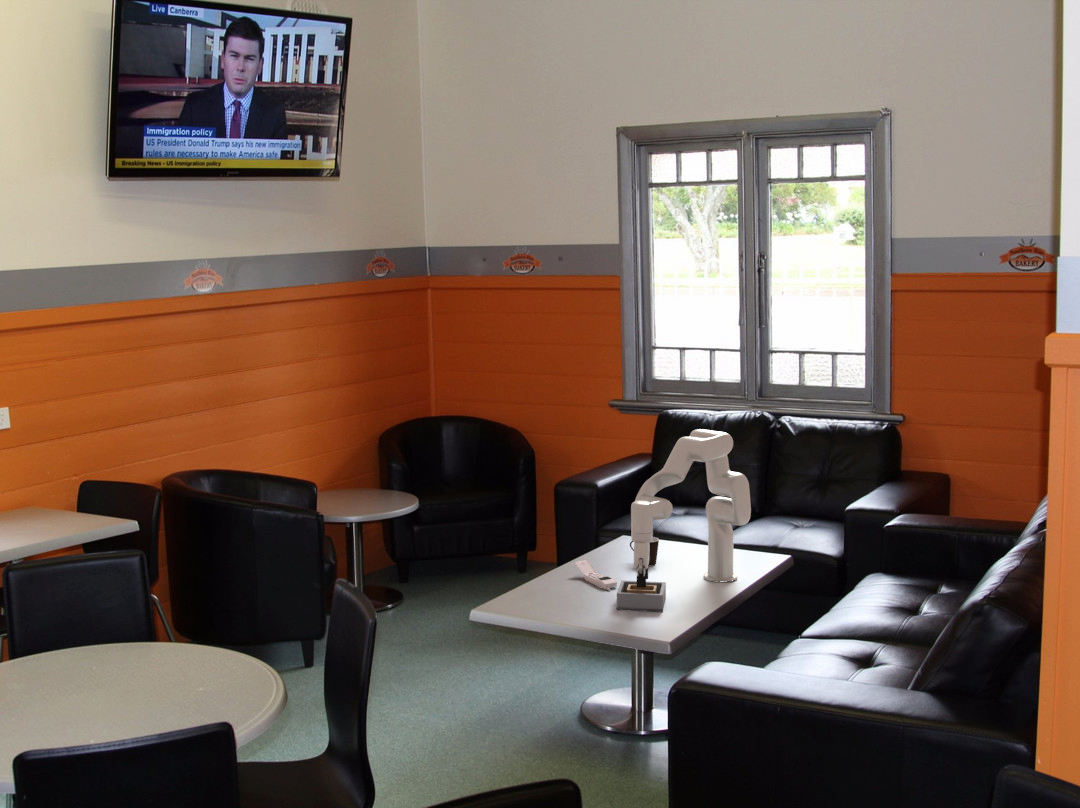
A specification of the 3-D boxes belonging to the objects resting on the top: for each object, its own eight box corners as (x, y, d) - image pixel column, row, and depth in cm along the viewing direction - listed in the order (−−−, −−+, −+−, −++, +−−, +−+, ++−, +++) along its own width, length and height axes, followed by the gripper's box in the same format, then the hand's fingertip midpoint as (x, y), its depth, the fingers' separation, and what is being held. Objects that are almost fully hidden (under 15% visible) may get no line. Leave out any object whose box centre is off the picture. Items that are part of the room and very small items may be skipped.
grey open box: (621, 596, 415) (621, 580, 415) (665, 598, 413) (665, 582, 412) (616, 609, 400) (616, 593, 399) (662, 612, 397) (662, 595, 396)
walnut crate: (628, 597, 410) (628, 584, 410) (656, 599, 409) (656, 585, 408) (626, 603, 404) (626, 589, 403) (655, 604, 402) (655, 591, 401)
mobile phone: (586, 559, 446) (621, 574, 424) (587, 574, 446) (621, 589, 424) (573, 561, 443) (607, 576, 421) (573, 576, 444) (607, 592, 422)
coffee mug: (663, 564, 458) (663, 540, 457) (646, 567, 453) (646, 543, 452) (644, 558, 468) (644, 534, 466) (628, 561, 463) (628, 537, 462)
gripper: (633, 529, 412) (634, 575, 415) (629, 542, 395) (629, 590, 398) (654, 530, 411) (654, 576, 413) (650, 542, 394) (651, 590, 396)
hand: (642, 583), depth 406 cm, fingers open, 9 cm apart
